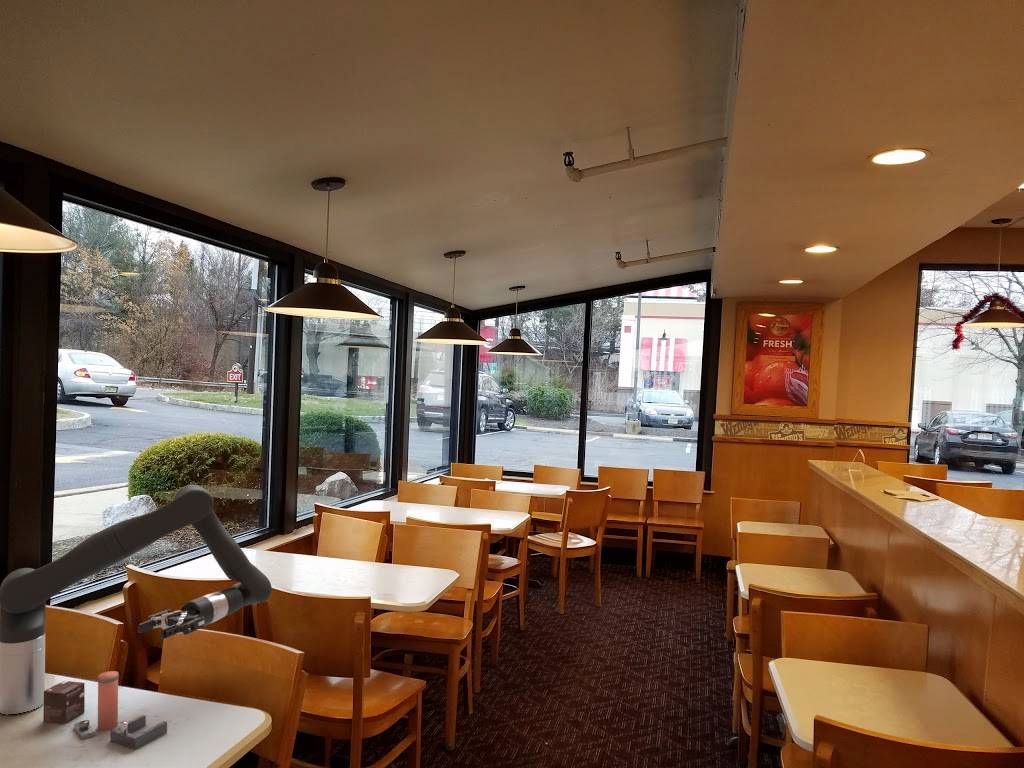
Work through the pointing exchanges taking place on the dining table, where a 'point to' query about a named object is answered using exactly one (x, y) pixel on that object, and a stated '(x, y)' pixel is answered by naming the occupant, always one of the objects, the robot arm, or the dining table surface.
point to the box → (64, 702)
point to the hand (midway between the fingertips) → (150, 632)
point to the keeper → (132, 741)
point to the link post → (108, 700)
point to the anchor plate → (84, 729)
